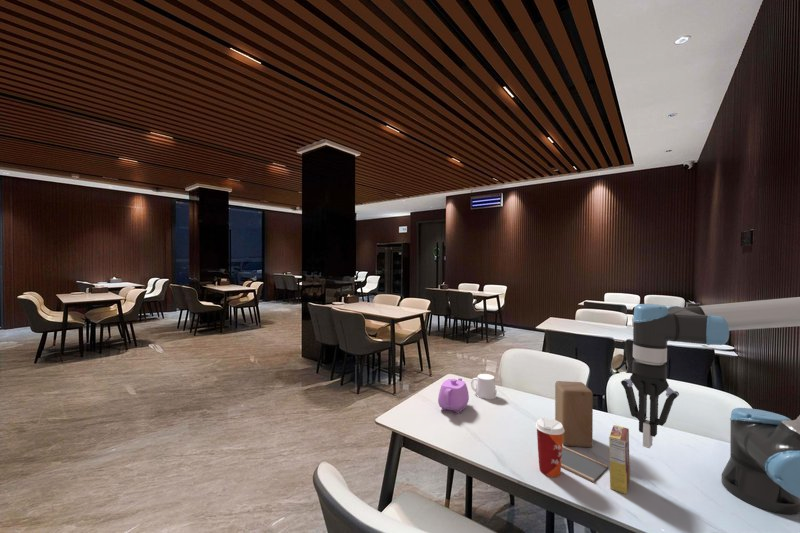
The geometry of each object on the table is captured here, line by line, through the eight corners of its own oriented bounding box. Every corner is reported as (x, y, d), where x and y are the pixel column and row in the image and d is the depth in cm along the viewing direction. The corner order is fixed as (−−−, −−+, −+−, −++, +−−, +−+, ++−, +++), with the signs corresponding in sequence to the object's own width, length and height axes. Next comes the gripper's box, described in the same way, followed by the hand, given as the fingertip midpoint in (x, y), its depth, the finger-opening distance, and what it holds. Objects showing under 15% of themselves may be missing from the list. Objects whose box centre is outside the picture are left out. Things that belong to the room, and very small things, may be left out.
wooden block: (593, 448, 115) (593, 391, 115) (563, 446, 117) (563, 390, 117) (582, 433, 125) (582, 381, 125) (554, 431, 127) (554, 379, 126)
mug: (497, 375, 162) (493, 380, 155) (497, 394, 162) (493, 400, 155) (473, 371, 168) (468, 376, 161) (473, 390, 168) (468, 395, 161)
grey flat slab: (608, 467, 105) (608, 465, 105) (593, 482, 98) (593, 480, 98) (557, 445, 117) (557, 443, 117) (541, 457, 111) (541, 455, 111)
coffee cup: (562, 483, 98) (562, 432, 98) (533, 473, 102) (533, 425, 102) (565, 467, 105) (566, 420, 105) (538, 459, 109) (538, 414, 109)
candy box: (613, 473, 102) (613, 424, 102) (630, 478, 100) (630, 428, 99) (608, 488, 96) (608, 436, 95) (626, 495, 93) (626, 441, 92)
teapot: (460, 420, 137) (459, 389, 136) (432, 413, 143) (431, 384, 143) (474, 401, 154) (474, 374, 154) (448, 396, 160) (448, 370, 160)
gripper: (683, 364, 89) (681, 451, 89) (626, 353, 99) (625, 431, 99) (675, 370, 84) (673, 462, 84) (617, 357, 94) (615, 440, 95)
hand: (647, 445), depth 92 cm, fingers closed
